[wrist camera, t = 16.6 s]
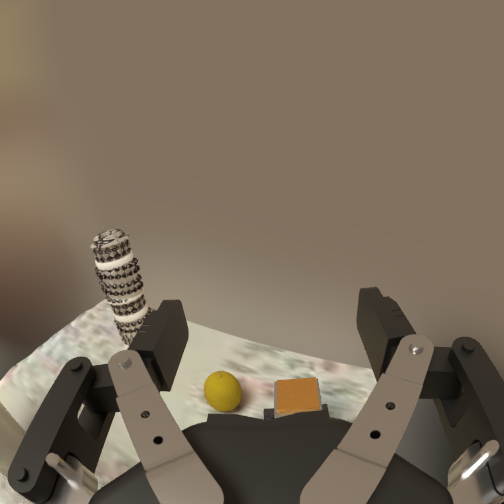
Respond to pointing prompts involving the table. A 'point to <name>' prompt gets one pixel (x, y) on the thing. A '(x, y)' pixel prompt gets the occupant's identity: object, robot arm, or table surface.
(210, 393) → the lemon
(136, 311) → the decorative candle
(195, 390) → the table surface
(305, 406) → the block
